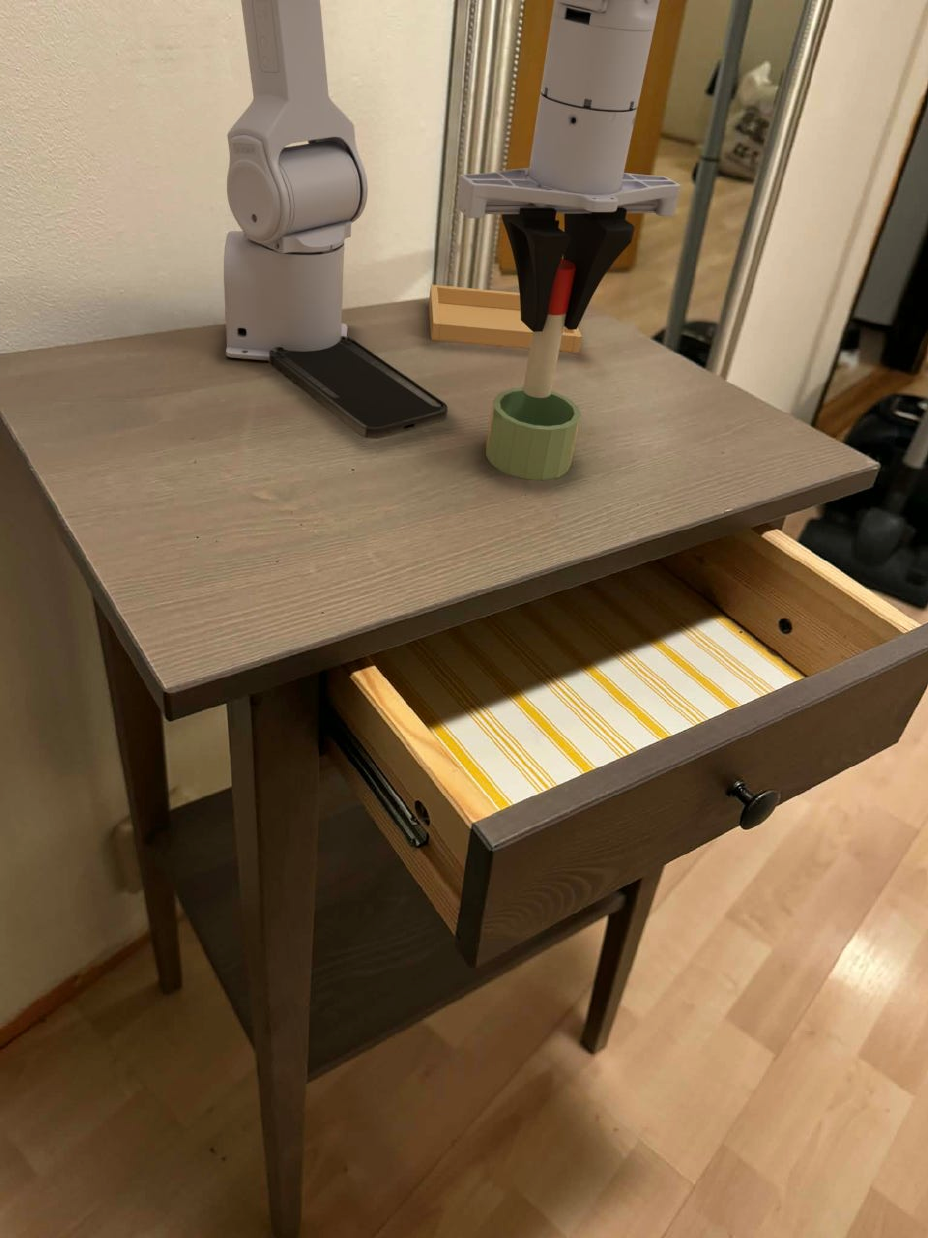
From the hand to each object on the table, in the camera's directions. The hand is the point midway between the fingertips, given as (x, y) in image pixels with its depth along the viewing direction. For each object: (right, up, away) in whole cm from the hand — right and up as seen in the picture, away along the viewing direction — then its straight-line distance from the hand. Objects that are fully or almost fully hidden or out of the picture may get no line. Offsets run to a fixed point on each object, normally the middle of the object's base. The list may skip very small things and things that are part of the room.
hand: (548, 324), depth 63 cm
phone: (-14, -2, +11) cm, 18 cm away
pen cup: (-1, -8, +6) cm, 10 cm away
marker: (-1, -4, +3) cm, 5 cm away
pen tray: (-2, +7, +24) cm, 25 cm away
